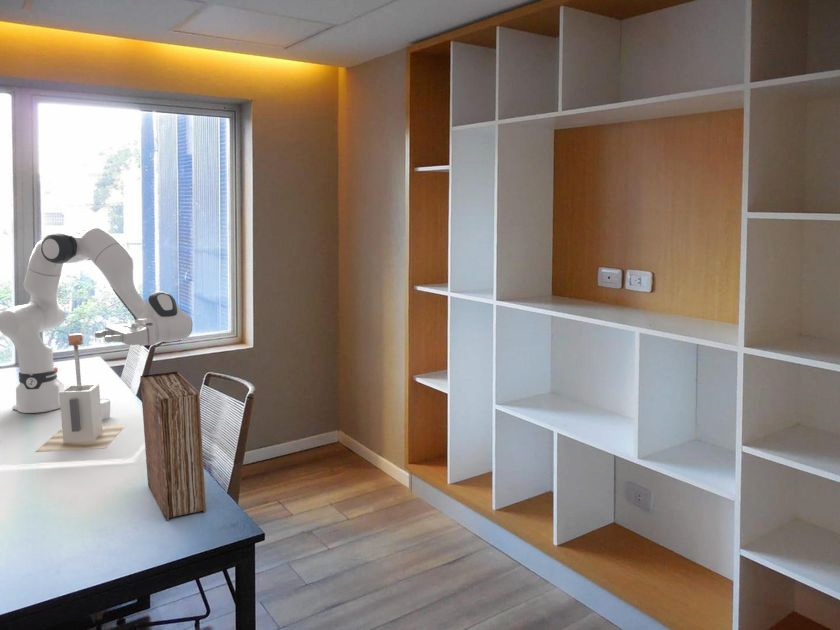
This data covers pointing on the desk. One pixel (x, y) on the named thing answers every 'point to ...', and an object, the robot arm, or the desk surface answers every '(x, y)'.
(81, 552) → the desk surface
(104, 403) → the shot glass
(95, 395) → the slotted white box
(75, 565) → the desk surface
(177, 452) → the book
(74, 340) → the plunger
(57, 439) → the oak board
